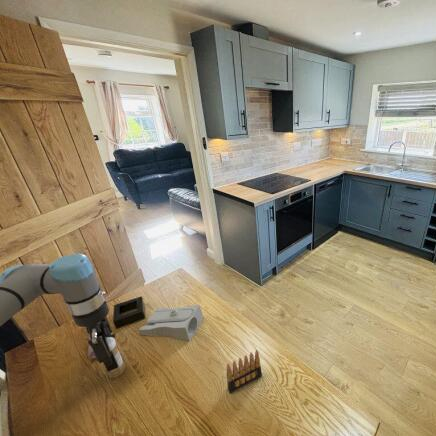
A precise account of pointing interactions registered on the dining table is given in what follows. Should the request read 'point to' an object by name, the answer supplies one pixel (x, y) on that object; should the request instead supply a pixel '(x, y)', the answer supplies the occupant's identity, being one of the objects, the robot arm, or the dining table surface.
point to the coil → (91, 352)
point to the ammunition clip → (241, 378)
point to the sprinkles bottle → (117, 356)
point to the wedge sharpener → (174, 322)
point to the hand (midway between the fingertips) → (113, 362)
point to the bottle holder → (130, 317)
